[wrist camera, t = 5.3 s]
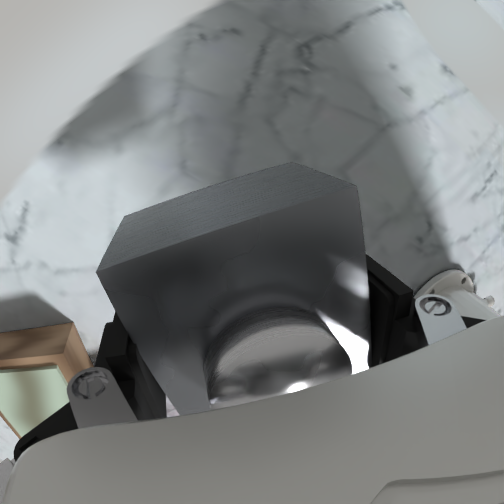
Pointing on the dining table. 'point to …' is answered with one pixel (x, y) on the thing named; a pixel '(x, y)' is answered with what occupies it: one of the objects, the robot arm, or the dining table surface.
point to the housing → (245, 287)
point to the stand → (38, 373)
